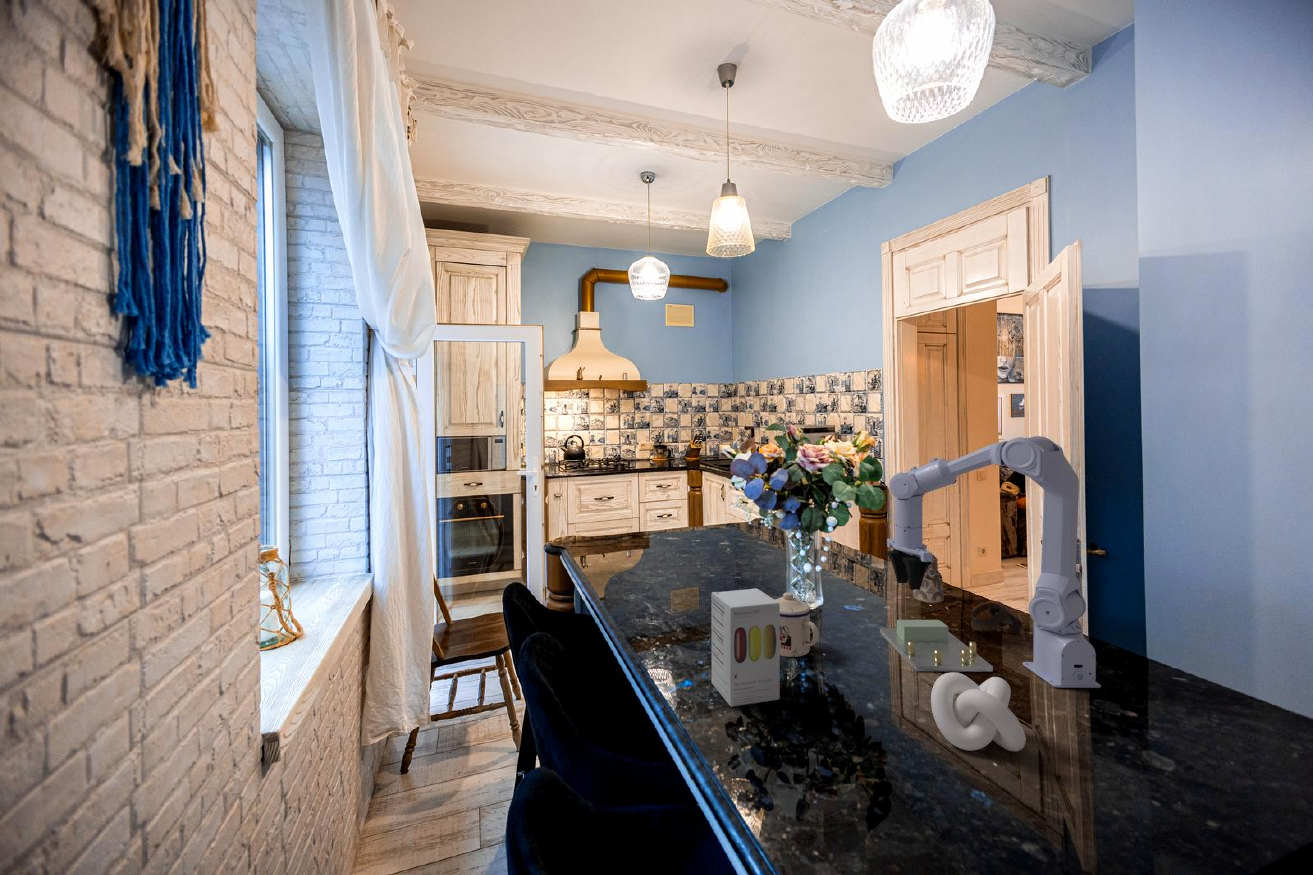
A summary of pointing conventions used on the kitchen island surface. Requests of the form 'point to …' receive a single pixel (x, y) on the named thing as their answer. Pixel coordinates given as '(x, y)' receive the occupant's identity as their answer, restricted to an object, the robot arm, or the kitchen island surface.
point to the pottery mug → (996, 618)
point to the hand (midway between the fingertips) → (908, 585)
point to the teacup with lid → (795, 627)
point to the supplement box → (746, 646)
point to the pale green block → (922, 630)
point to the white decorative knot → (975, 713)
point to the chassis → (938, 654)
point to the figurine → (931, 585)
